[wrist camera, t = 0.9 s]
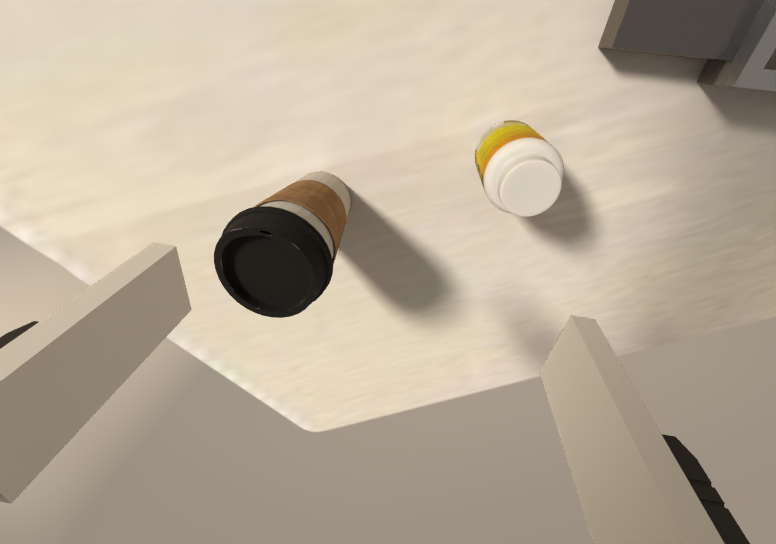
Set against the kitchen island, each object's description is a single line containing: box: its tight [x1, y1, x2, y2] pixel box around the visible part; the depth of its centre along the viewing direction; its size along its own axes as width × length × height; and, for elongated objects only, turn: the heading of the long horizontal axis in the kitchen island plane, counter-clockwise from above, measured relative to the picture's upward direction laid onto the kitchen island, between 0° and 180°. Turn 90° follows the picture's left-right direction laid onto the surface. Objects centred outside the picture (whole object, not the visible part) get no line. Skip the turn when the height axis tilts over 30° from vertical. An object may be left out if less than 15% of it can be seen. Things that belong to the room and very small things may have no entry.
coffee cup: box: [214, 172, 351, 318], centre depth 30 cm, size 8×8×15 cm
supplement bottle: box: [475, 120, 564, 217], centre depth 27 cm, size 6×6×10 cm
